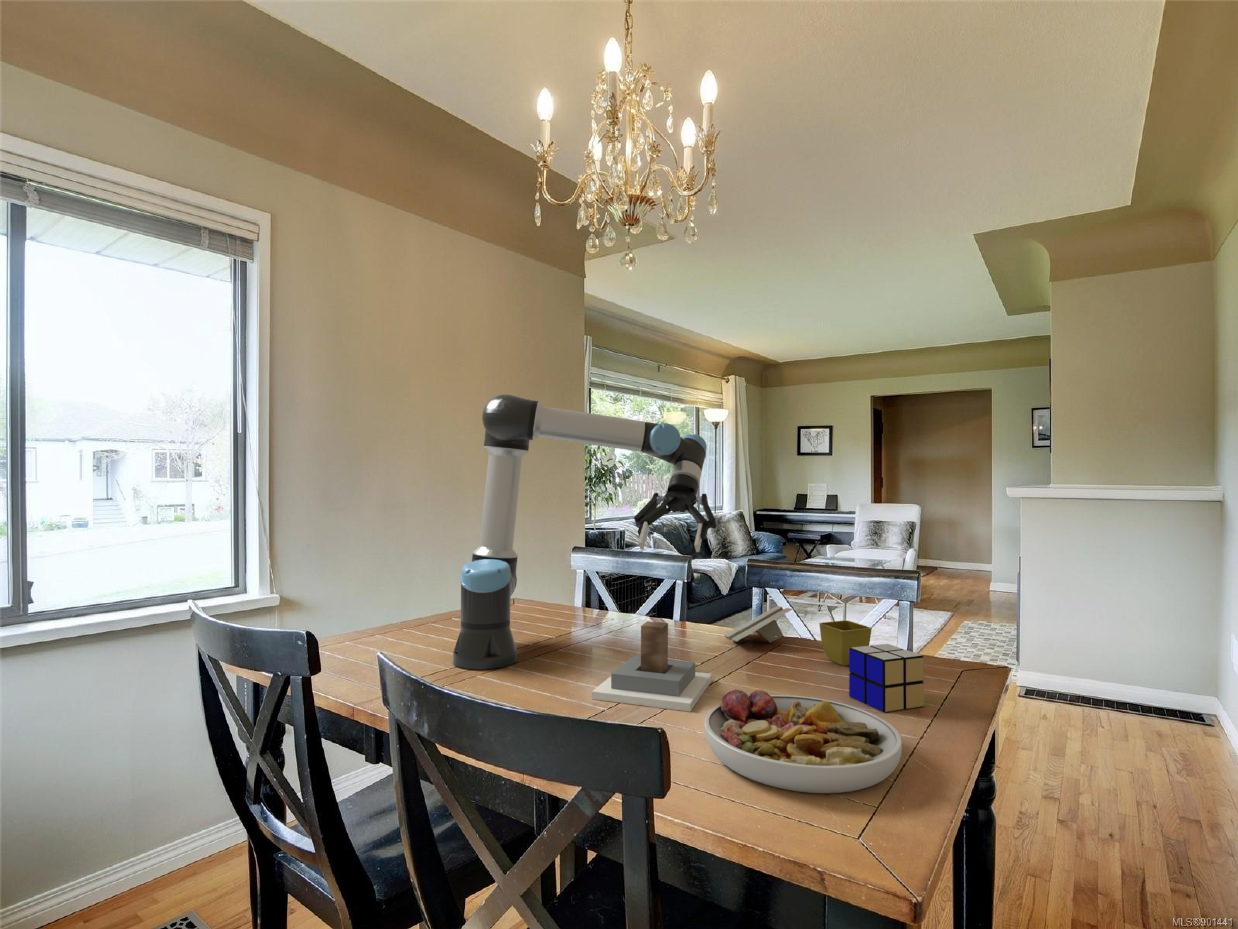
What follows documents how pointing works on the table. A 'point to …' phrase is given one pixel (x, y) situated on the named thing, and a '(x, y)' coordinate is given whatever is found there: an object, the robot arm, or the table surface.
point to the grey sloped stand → (761, 626)
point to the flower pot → (843, 639)
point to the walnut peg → (654, 647)
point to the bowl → (802, 742)
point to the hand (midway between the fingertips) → (668, 547)
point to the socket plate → (655, 698)
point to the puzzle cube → (886, 677)
